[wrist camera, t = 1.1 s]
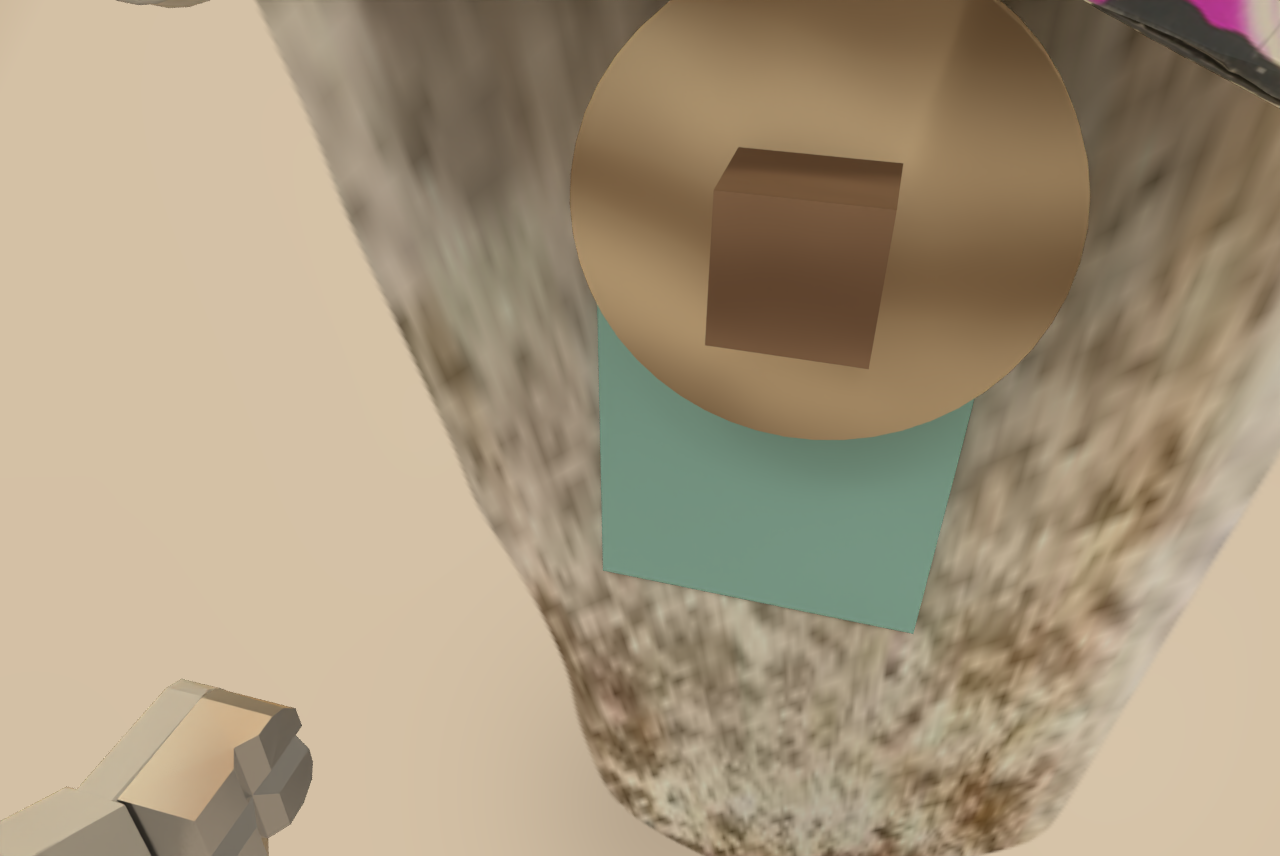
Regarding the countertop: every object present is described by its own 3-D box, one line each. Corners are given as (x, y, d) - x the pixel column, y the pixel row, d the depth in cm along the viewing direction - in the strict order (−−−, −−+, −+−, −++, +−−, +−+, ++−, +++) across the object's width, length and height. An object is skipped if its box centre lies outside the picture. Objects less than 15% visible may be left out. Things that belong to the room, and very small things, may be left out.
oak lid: (576, -73, 22) (509, -45, 19) (1161, -44, 20) (1202, -6, 16) (589, 382, 30) (543, 458, 27) (1013, 449, 27) (1020, 544, 24)
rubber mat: (602, 292, 34) (597, 300, 34) (985, 345, 31) (986, 354, 31) (606, 561, 42) (602, 570, 42) (913, 623, 39) (913, 633, 39)
